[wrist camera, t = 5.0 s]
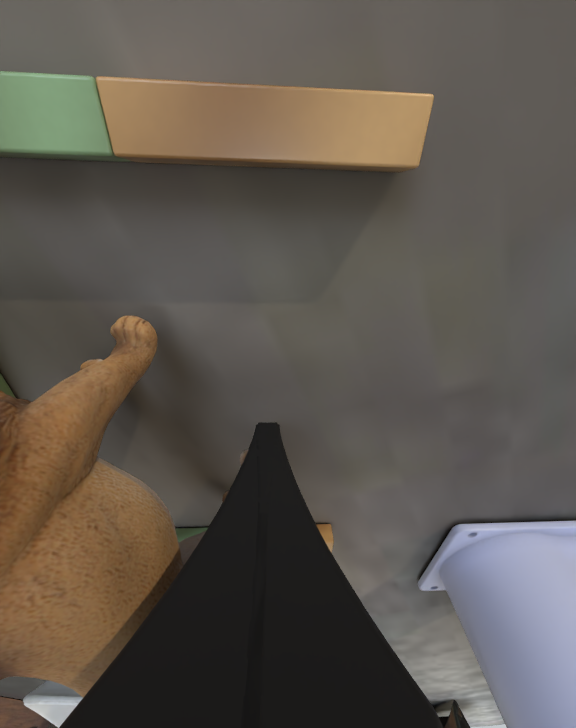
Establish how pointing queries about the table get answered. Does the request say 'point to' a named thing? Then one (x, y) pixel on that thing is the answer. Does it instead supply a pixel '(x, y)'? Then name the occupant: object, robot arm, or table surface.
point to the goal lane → (209, 130)
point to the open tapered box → (454, 718)
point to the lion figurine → (79, 525)
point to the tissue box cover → (19, 715)
